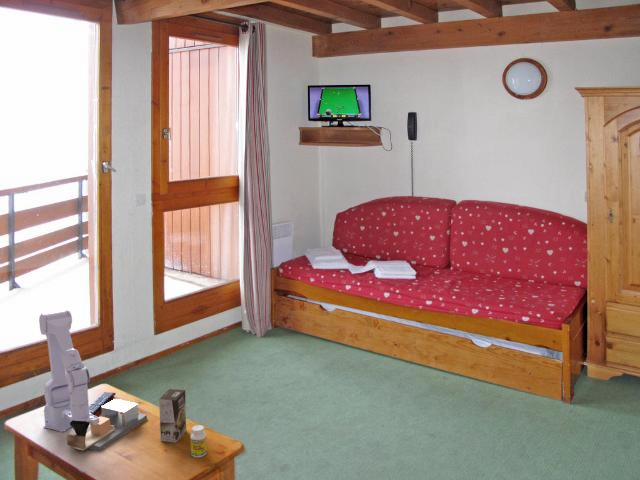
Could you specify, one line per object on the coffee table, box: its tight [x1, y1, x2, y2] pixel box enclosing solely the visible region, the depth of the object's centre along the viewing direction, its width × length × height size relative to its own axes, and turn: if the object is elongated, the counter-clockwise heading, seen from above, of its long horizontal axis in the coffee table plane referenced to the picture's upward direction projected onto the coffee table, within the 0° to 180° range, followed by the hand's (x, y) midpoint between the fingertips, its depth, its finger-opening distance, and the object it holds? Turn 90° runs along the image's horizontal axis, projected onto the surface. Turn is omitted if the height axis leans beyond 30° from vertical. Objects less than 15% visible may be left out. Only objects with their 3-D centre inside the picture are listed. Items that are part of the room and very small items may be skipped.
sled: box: [66, 425, 114, 452], centre depth 228 cm, size 7×16×4 cm, turn 158°
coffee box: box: [158, 388, 187, 443], centre depth 233 cm, size 9×6×16 cm
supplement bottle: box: [189, 424, 208, 458], centre depth 221 cm, size 5×5×10 cm
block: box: [89, 415, 111, 435], centre depth 232 cm, size 4×5×4 cm
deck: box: [87, 412, 148, 452], centre depth 237 cm, size 13×26×2 cm, turn 158°
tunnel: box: [101, 398, 139, 427], centre depth 242 cm, size 10×8×6 cm
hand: (81, 439), depth 224 cm, fingers closed
